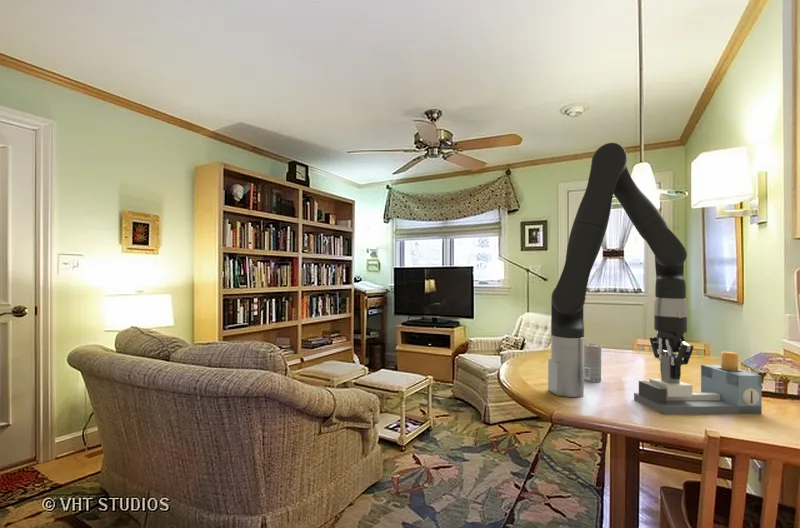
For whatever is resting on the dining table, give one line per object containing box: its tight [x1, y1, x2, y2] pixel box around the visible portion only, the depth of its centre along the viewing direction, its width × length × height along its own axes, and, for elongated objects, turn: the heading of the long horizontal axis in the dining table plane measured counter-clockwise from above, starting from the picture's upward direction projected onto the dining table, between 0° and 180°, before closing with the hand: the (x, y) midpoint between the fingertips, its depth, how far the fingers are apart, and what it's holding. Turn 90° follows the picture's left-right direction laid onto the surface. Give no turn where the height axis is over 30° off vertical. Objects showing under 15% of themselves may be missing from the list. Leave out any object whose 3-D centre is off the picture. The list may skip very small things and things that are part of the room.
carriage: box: [648, 354, 693, 397], centre depth 111 cm, size 7×7×10 cm
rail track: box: [633, 364, 763, 416], centre depth 111 cm, size 27×12×10 cm, turn 94°
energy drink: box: [584, 343, 602, 383], centre depth 137 cm, size 5×5×12 cm
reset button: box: [720, 351, 739, 371], centre depth 112 cm, size 4×4×4 cm
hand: (670, 376), depth 111 cm, fingers closed on carriage, 3 cm apart
